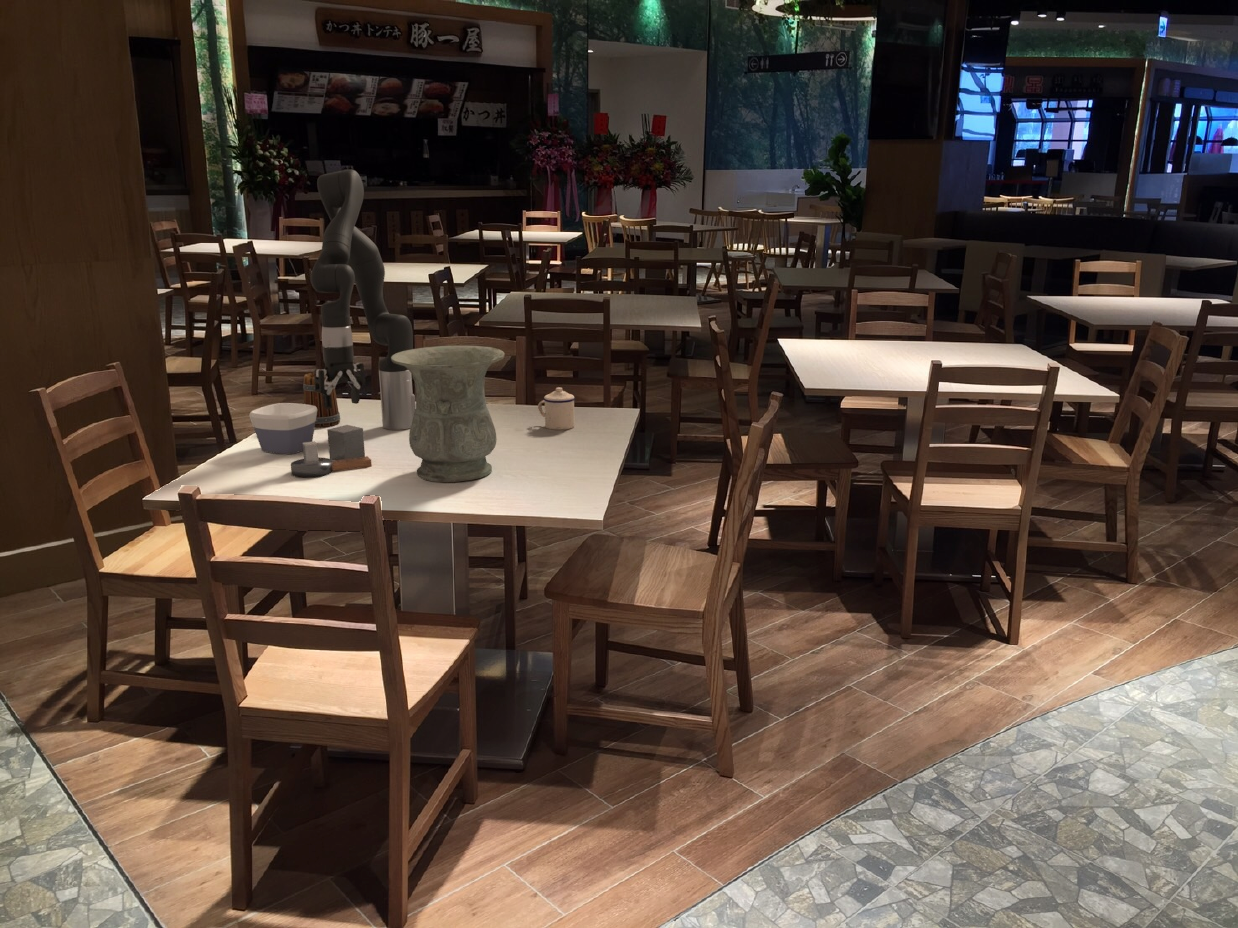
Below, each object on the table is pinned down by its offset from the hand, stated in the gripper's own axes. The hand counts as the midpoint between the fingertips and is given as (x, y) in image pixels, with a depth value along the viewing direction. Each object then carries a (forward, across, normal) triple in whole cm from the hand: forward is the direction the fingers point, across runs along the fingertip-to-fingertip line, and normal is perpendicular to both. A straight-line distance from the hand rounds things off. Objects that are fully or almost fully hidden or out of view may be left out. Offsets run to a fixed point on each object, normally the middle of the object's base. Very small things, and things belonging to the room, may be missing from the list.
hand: (342, 405), depth 266 cm
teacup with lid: (+14, -60, +21) cm, 65 cm away
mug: (+14, -23, -39) cm, 48 cm away
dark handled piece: (+14, +9, +6) cm, 18 cm away
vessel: (+14, -7, +33) cm, 37 cm away
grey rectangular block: (+14, 0, 0) cm, 14 cm away
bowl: (+14, +3, -21) cm, 26 cm away
